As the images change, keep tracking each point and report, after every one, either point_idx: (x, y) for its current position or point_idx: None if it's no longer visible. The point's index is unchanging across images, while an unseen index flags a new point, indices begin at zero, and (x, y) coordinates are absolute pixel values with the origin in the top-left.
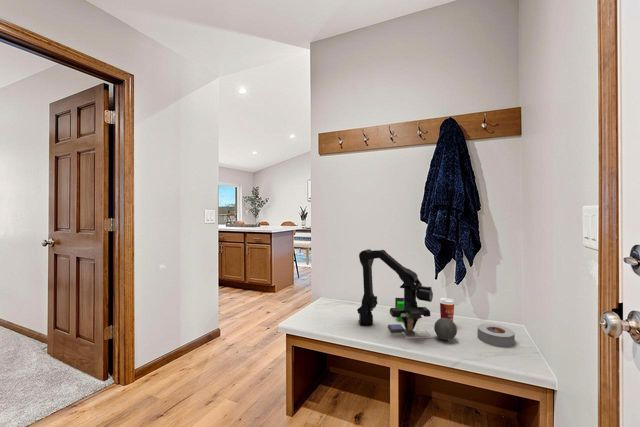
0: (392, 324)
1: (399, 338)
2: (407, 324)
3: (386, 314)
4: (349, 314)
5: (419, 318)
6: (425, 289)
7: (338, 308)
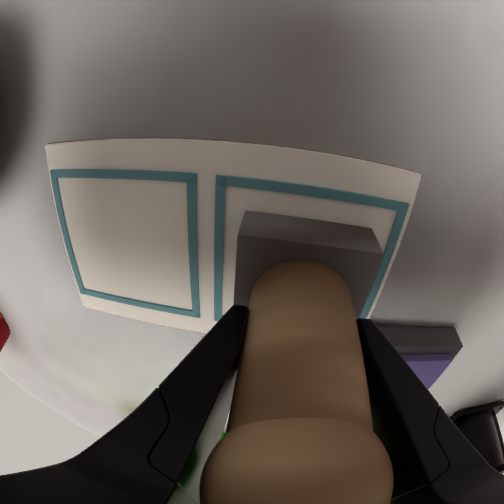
0: None
1: (482, 197)
2: (368, 395)
3: None
4: None
5: (3, 475)
6: None
7: None
